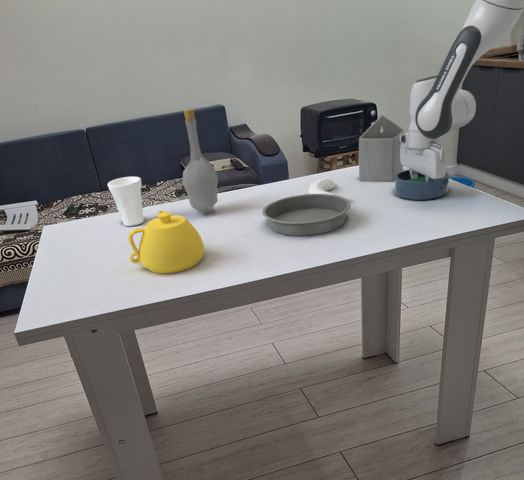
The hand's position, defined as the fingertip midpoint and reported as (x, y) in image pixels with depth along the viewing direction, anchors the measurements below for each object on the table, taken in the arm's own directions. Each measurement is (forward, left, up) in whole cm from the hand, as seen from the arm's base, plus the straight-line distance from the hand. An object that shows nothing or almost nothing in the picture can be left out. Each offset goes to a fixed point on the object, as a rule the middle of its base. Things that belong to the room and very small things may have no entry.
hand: (421, 187), depth 162 cm
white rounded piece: (+26, +6, -2) cm, 27 cm away
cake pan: (+26, +29, -2) cm, 39 cm away
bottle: (+61, +26, -2) cm, 66 cm away
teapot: (+52, +61, -2) cm, 80 cm away
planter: (+14, -14, -2) cm, 20 cm away
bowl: (0, 0, -2) cm, 2 cm away
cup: (+80, +38, -2) cm, 89 cm away
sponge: (0, 0, -1) cm, 1 cm away
